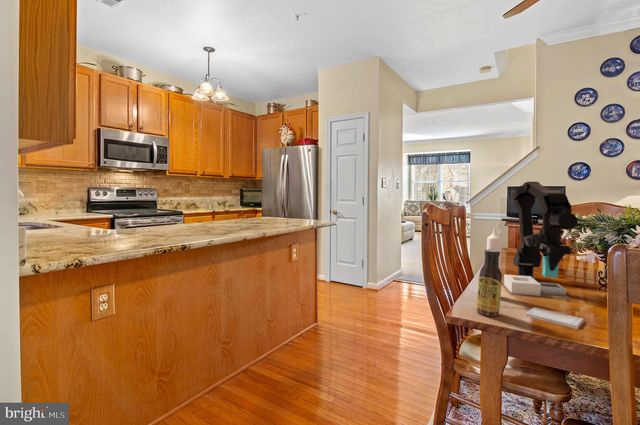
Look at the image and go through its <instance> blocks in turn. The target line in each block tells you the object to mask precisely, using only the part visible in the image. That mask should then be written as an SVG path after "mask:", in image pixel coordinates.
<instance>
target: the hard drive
mask: <svg viewBox="0 0 640 425" xmlns="http://www.w3.org/2000/svg"><path fill="white" fill-rule="evenodd" d="M525 317H529V318H531V319H536V320H540V321H544V322H547V323H552V324H556V325H559V326H563V327H568V328H572V329H576V330H578V329H579V328H580V327H581V325H583V323H584V322H585V319H584V318H582V317H580V316H574V315H570V314H565V313H562V312H558V311H557V312H556V311H553V310H549V309H545V308H542V307H541V308H540V307H536V306H534V307H532V308H530V309H529V310H528V311H527V312H526V314H525Z"/></svg>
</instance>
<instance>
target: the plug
mask: <svg viewBox="0 0 640 425" xmlns="http://www.w3.org/2000/svg"><path fill="white" fill-rule="evenodd" d="M559 264H560V262H559V263H558V265H557V266H556V268H555V270H554V271H551V270H550V267H549V260H548V257H547V256H543V255H542V270H541V271H542V272H541V275H542V276H543V277H544V278H553V279H554V278H556V279H557V278H559V268H560V267H559Z"/></svg>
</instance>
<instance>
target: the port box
mask: <svg viewBox="0 0 640 425" xmlns="http://www.w3.org/2000/svg"><path fill="white" fill-rule="evenodd" d="M503 283H504V285H505V286H506V287H507V289H508V290H509V291H510V292H511V293H515V294H526V295H538V296H540V292H541V284H539V283H538V281H537V280H536V279H535V278H534V279H533V278H532V277H531V276H519V275H518V274H517V275H514V274H504V276H503ZM507 289H506V290H507ZM508 290H507V291H508Z"/></svg>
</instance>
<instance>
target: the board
mask: <svg viewBox="0 0 640 425" xmlns="http://www.w3.org/2000/svg"><path fill="white" fill-rule="evenodd" d="M501 285H503V287H504V288H505V289H506V290H507V292H508V293H509V294H510V295H511V296H520V297H531V298H543V299H554V300H565V301H573V298H571V297H570V296H568V295H567V294H566V296H561V295H549V294H540V296H538V295H526V294H515V293H511V292H510V291H509V290H508V289H507V287H506V286H505V285H504V282H502V284H501Z"/></svg>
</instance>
